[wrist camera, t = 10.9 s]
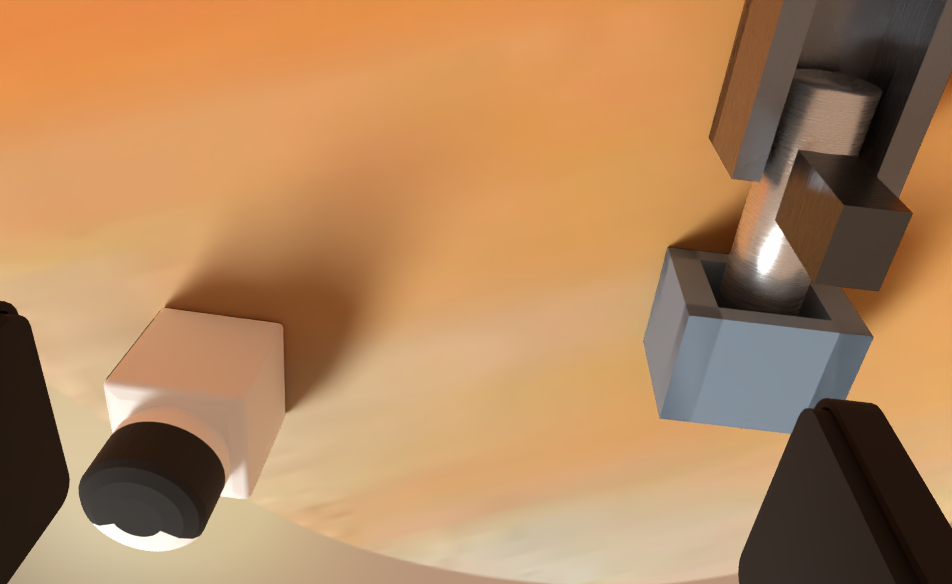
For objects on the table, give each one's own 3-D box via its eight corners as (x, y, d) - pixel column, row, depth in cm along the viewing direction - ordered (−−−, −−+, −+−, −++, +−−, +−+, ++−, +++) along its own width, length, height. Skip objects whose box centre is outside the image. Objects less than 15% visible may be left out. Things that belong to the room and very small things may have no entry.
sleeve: (786, -154, 30) (827, -152, 26) (964, -134, 30) (1035, -129, 25) (708, 137, 36) (731, 178, 32) (855, 154, 36) (898, 198, 32)
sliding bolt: (774, 64, 33) (848, 136, 25) (861, 74, 33) (962, 150, 25) (695, 330, 40) (733, 449, 32) (766, 338, 40) (822, 460, 32)
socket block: (667, 247, 39) (689, 315, 34) (825, 265, 39) (873, 336, 34) (643, 341, 42) (659, 418, 37) (789, 358, 42) (828, 438, 37)
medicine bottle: (161, 304, 43) (45, 450, 33) (284, 321, 43) (207, 472, 33) (173, 400, 47) (71, 559, 37) (286, 416, 47) (217, 578, 37)
